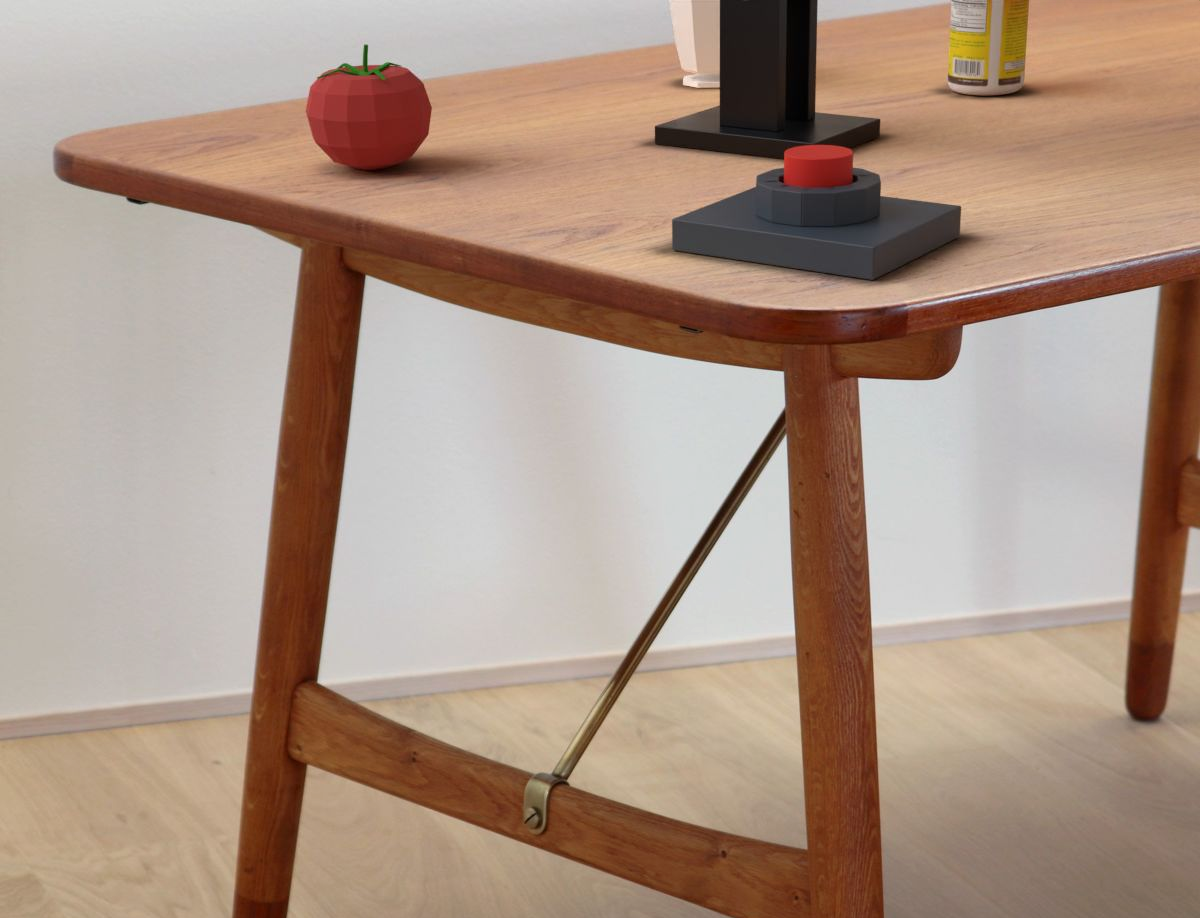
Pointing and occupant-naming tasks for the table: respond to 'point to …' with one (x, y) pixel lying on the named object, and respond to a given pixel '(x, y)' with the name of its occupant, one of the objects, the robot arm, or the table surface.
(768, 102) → the bracket
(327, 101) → the tomato
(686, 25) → the cup
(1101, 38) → the table surface
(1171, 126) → the table surface
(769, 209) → the block
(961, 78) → the supplement bottle
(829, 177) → the button
